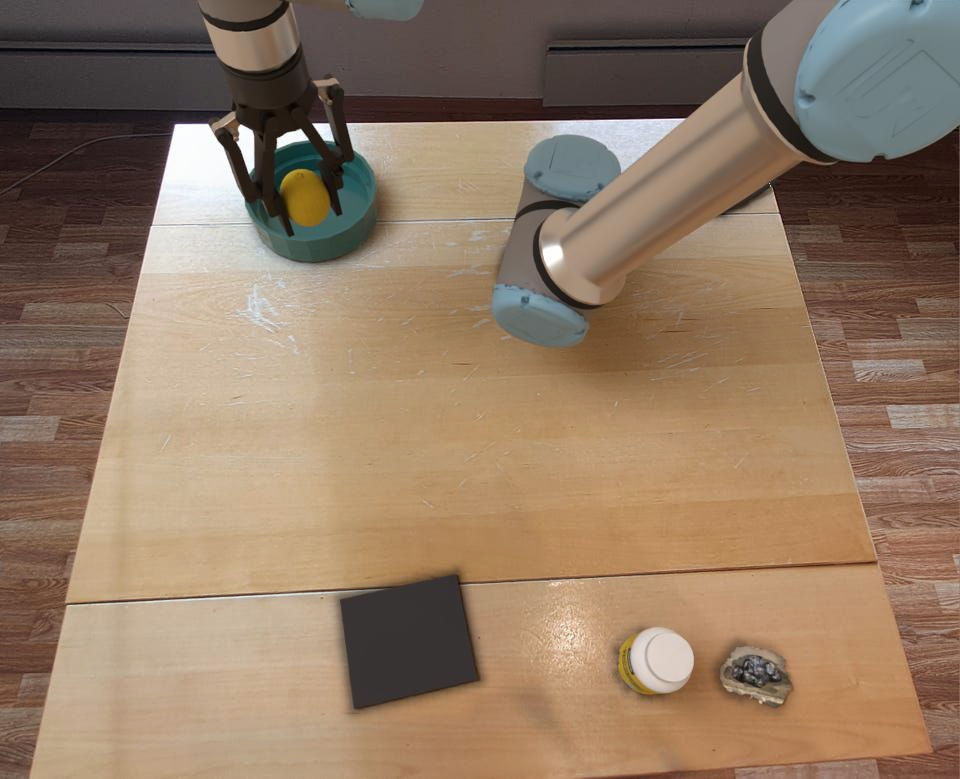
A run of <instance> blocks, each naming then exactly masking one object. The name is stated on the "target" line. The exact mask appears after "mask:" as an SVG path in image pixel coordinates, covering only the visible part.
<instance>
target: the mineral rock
mask: <svg viewBox="0 0 960 779" xmlns="http://www.w3.org/2000/svg"><path fill="white" fill-rule="evenodd" d="M729 656H730V657H729V658H726V661H725V662H724V663H723V664H722V665H721V666H720V667H719V672H718V676H719V680H720V681H721V685H722V687H723V688H725V689H726V691H727V692H729V693H732V692H733V693H734V694H735V693H736V694H738V695H739V696H743V695H750V697H749V698H748V700H751V699H753V698H754V699H756V700H758V703H759V704H760V705H763V703H765V704H767V706H770V708H776V709H778V707H780V706H781V705H783V704H784V702H785V700H787V695H789V692H788V691H791V690H792V688H794V687H793V685H792V684H793V683H792V681H791V680H789V678H790V677H791V675H790V673H789V671H787V670H786V669H785V666H786V664H787V662H786V661H787V659H786V658H784V656H783V655H778V654H777V653H775V652H773V651H771V650H770V649H769V650H768V649H766V648H764V649H760V647H759V646H758V647H754V646H752V645H746V646H737V647H736V648H734V651H730V655H729Z"/></svg>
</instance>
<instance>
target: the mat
mask: <svg viewBox="0 0 960 779" xmlns="http://www.w3.org/2000/svg"><path fill="white" fill-rule="evenodd" d="M339 603H340V612H341V618H342V627H343V628H342V629H343V634H344V643H345V650H346V658H347V667H348V673H349V681H350V688H351V696H352V704H353V709H354V710H357V709H362V708H365V707H369V706H374V705H377V704H381V703H386V702H391V701H394V700H398V699H403V698H408V697H411V696H415V695H419V694H423V693H428V692H432V691H437V690H440V689H445V688H449V687H453V686H458V685H462V684H466V683H471V682H475V681H478V675H477V670H476V665H475V660H474V655H473V650H472V644H471V641H470V635H469V630H468V626H467V621H466V620H467V619H466V616H465V610H464V606H463V601H462V596H461V591H460V585H459V580H458V575H457V573H453V574H449V575H443V576H440V577H436V578H430V579H426V580H421V581H418V582H413V583H408V584H404V585H399V586H395V587H389V588H384V589H381V590H375V591H372V592H367V593H362V594H357V595H354V596H348V597H344V598H340V599H339Z"/></svg>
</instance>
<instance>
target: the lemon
mask: <svg viewBox="0 0 960 779" xmlns="http://www.w3.org/2000/svg"><path fill="white" fill-rule="evenodd" d="M280 196H281V197H282V200H283V203H284V206H285V209H286V211H287V214H288V217H289V218H290V219H291V220H292V221H294V222H295V223H297V224H299V225H302V226H315V225H317V224H319V223H321V222H322V221H323V220H324V219H325V218H326V217H327V215H328V213H329V209H330V196H329V192H328V189H327V187H326V185H325V183H324V182H323V180H322V179H321V178H320V177H319V176H318V175H317V174H315V173H314V172H312V171H310V170H306V169H297V170H294V171H292V172H290V173H289V174H287V175H286V176H285V178H284V179H283V181H282V183H281V187H280Z"/></svg>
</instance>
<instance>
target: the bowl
mask: <svg viewBox="0 0 960 779" xmlns="http://www.w3.org/2000/svg"><path fill="white" fill-rule="evenodd" d="M324 141H325V143H326V144H327V146H328V147H329V149H330V150H333V149H334V148H335V147H336V146H335V142H334V140H324ZM353 151H354V155H355V158H354V160H353V161H352V162H349V163H347V162H345V163H344V164H342V166H341V167H342V168H343V170H344V174H343V175H342V178H343V183H344V186H343V188H342V189H339V190H337V193H338V197H339V201H340V205H341V209H342V213H343V214H342V215H340V216H338V217H337V216H336V214H335V213H334V211H333V209H332V208H331V206H330V209H329V213H328V215H327V217H326V218H325V219H324V220H323V221H322V222H321V223H319V224H317V225H315V226H302V225H299V224H297V223H295V222H294V221H292V220H291V219H290V218H289V220H290V223H291V226H292V229H293V231H294V234H295V235H294V236H291V237H288V235H287V233H286V232H285V230H284V228H283V227H282V225H281V223H280V221H279V219H278V216H276V217H274V218H271V217H270V216H269V215H268V213H267V211H266V210H265V208H264V205H263V203H262V200H261V199H256V201H255V202H254V203H247V202H246V200H245V199H244V198H243V199H244V207H245V209H246V212H247V214H248V217H249V219H250V221H251V223H252V226H253V228H254V231H255V232H256V233H257V236H258V237H259V239H260V241H261V242H262V244H264V245H265V246H267V248H269V249H270V250H271V251H273V252H274V253H275V254H277V255H280V256H281V257H285V258H287V259H291V260H293V261H301V262H312V263H314V262H321V261H326V260H333V259H337V258H338V257H341V256H343V255H345V254H347V253H350V252H352V251H354V250H356V248H358V247H359V246H360V245H361V244H363V243H364V242H365V241H366V240H367V239H368V238H369V237H370V235H371V234H372V232H373V230H374V228H375V227H376V226H377V223H378V218H379V214H380V208H381V207H380V201H379V195H378V189H377V183H376V178H375V173H374V170H373V169H372V167H371V166H370V164H369V162H368V161H367V160H366V158H365V157H364V156H362V155H361V154H360V153H359V152H357V151H356V150H354V149H353ZM322 160H323V159H322V157H321V156H320V154H319V153H318V152H317V150H316V149H315V148H314V146H313V145H312V143H311V142H310V141H309V139H308V140H306V139H305V140H301V141H300V140H299V141H293V142H290V143H288V144H286V145H282V146H280V147H277V149H276V150H275V162H274V186H275V187H276V189H277V191H278V192H279V194H280V187H281V183H282V181H283V179H284V178H285V176H286V175H287V174H289V173H290V172H292V171H294V170H297V169H306V170H310V171H312V172H314V173H315V174H317V175H318V176H319V177H320V178H321V175H320V172H319V168H318V164H317V162H319V161H322ZM323 161H324V160H323ZM324 162H325V161H324ZM249 176H250V179H251V182H253V181H252V178H253V180H254V167H253V168H252V170H251V171H249Z"/></svg>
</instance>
